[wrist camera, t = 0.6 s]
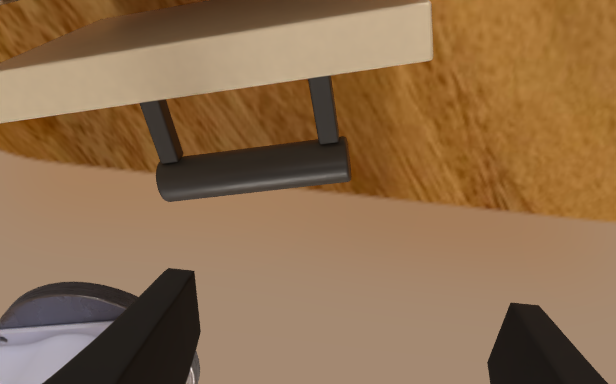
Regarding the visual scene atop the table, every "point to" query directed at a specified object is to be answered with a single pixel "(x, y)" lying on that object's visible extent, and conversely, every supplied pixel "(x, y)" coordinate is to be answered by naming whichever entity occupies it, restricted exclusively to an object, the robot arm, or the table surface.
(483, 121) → the table surface
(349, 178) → the drawer
